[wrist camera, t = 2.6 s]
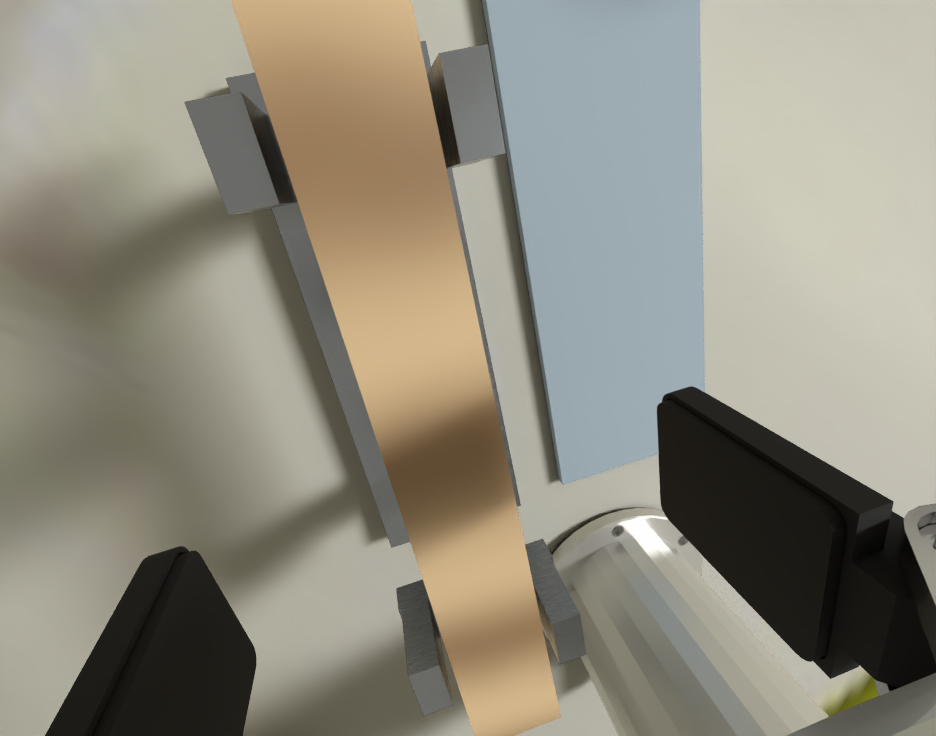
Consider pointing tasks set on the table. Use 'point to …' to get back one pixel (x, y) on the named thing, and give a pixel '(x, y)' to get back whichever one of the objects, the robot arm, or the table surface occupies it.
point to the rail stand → (269, 187)
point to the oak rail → (408, 325)
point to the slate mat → (606, 210)
